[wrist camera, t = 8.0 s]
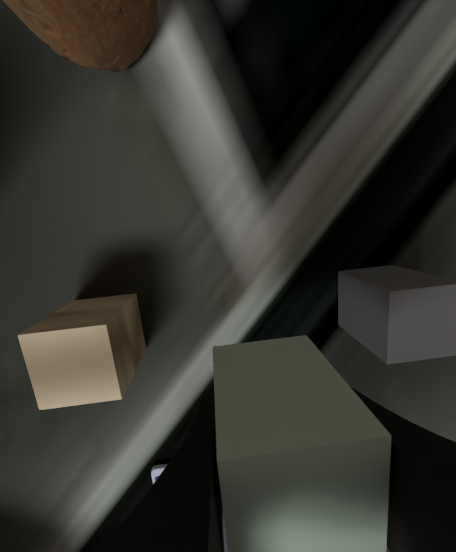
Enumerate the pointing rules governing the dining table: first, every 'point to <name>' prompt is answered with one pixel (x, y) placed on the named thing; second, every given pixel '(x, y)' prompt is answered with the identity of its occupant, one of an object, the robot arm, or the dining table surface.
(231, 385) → the sage block
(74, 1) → the brown rough elongated lump
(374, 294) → the charcoal block
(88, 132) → the dining table surface
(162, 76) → the dining table surface
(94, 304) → the beech block
